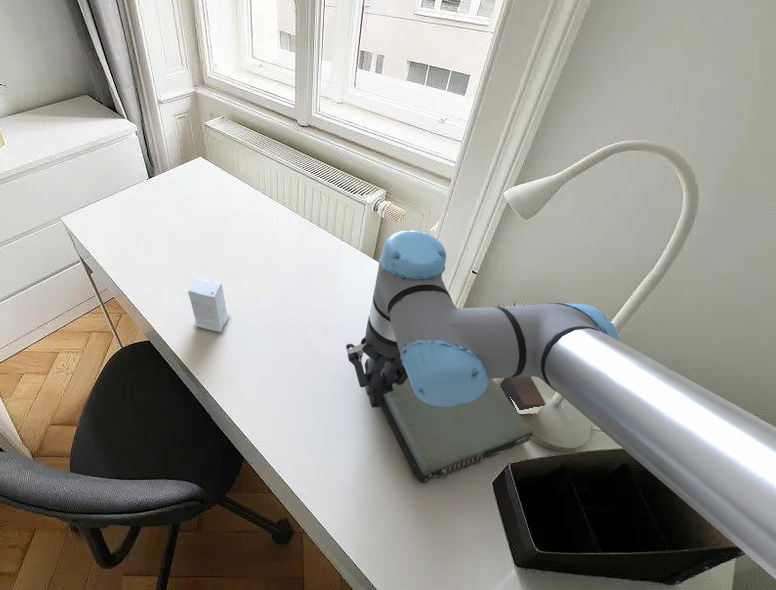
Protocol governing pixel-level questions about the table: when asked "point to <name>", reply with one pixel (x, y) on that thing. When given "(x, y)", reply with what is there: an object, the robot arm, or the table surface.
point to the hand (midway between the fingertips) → (373, 399)
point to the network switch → (452, 429)
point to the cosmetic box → (208, 304)
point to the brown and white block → (522, 392)
